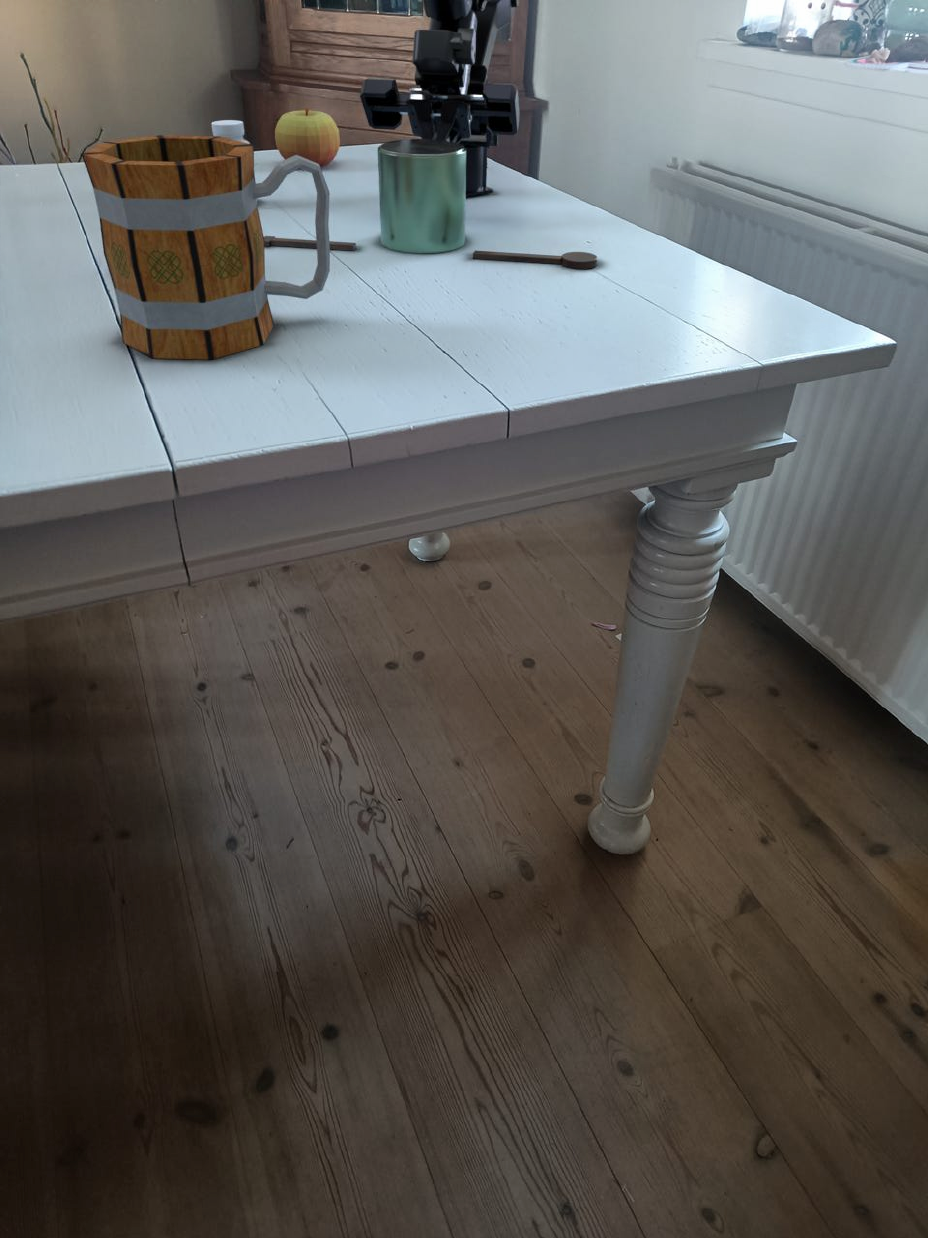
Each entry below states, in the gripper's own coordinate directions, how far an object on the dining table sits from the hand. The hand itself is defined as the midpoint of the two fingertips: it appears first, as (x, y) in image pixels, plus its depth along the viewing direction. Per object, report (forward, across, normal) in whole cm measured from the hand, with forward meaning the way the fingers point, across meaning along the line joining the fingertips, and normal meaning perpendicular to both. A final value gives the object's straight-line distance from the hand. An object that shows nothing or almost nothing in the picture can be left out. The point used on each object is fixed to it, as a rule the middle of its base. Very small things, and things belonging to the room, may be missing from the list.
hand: (431, 170), depth 107 cm
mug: (+32, -10, -22) cm, 40 cm away
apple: (-20, -27, +29) cm, 44 cm away
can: (+8, 0, +1) cm, 9 cm away
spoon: (+12, +14, -2) cm, 19 cm away
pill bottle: (0, -28, +10) cm, 30 cm away
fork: (+12, -14, -2) cm, 19 cm away
